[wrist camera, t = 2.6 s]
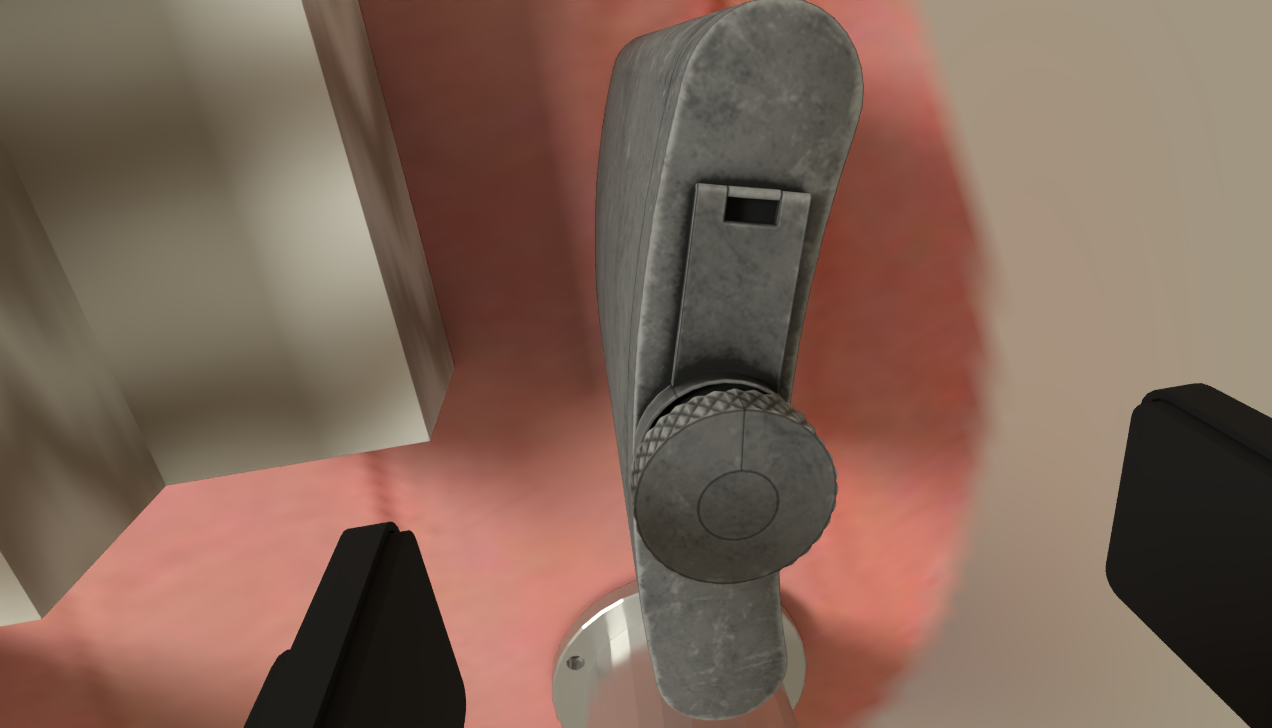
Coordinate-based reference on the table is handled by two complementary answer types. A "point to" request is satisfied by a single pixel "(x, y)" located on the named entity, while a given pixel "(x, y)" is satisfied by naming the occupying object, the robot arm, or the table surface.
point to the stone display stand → (194, 264)
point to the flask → (719, 326)
